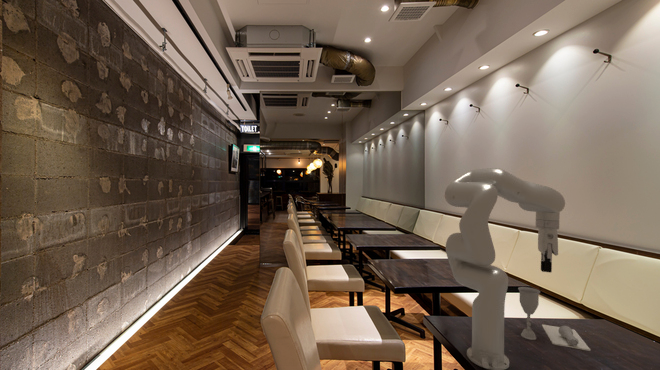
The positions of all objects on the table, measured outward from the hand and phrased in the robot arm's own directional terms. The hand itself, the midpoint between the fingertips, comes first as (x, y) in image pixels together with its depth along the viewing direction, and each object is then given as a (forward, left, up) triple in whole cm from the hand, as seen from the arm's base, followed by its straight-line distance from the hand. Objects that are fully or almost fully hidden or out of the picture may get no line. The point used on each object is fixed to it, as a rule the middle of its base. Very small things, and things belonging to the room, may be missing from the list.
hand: (546, 271), depth 116 cm
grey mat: (+1, -6, -25) cm, 26 cm away
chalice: (-4, +6, -25) cm, 26 cm away
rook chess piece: (+1, -6, -22) cm, 23 cm away
